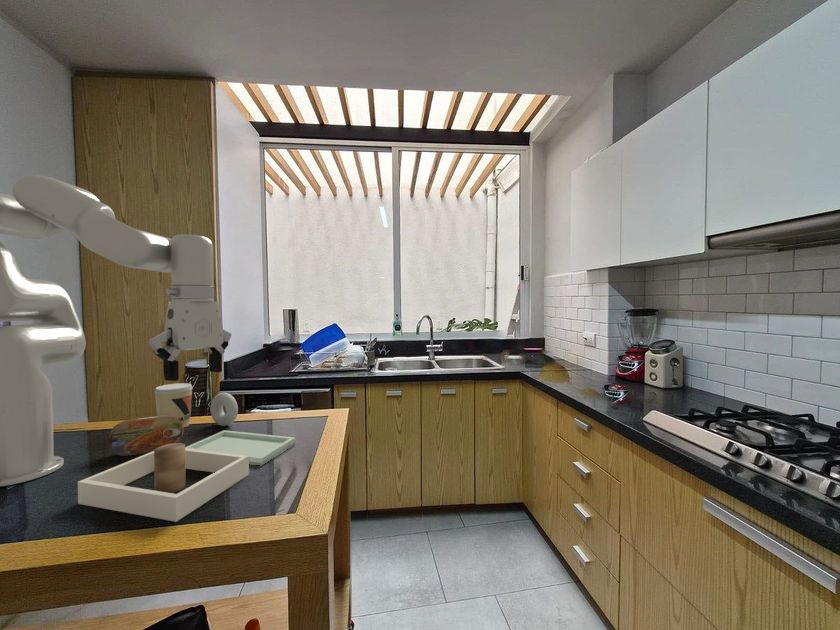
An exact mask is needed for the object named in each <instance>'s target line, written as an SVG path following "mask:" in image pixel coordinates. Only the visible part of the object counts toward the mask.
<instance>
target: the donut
mask: <svg viewBox="0 0 840 630" xmlns="http://www.w3.org/2000/svg"><path fill="white" fill-rule="evenodd" d="M209 407H210V415H211V418H212V420H213V421H214V422H215V424H217V425H218V426H221V427H228V426H230V425H232V424H233V423H234V422H235V421H236V419H237V416H238V415H239V414H238V413H239V407H238V403H237V400H236V399H235V397H234V396H233V395H232V394H230V393H228V392H220V393H218V394H216V395H215V396H214V397H213V398H212V400H211V403H210V406H209Z"/></svg>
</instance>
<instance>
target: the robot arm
mask: <svg viewBox="0 0 840 630" xmlns="http://www.w3.org/2000/svg"><path fill="white" fill-rule="evenodd" d="M11 190H12V195H10V194H6V193H3V192H0V234H3V235H8V236H12V237H19V238H23V239H24V238H25V239H29V240H43V239H46V240H47V239H50V238H54V237H55V238H56V237H57V236H61V235H66V234H68V233H70V234H72V235H74V236H75V237H76V238H77V239H78V241H79V242H80V243H81V244H82V245H83V247H85V248H86V249H87V250H90V251H91V252H93V253H95V254H97V255H99V256H101V257H103V258H105V259H107V260H109V261H111V262H114V263H115V264H118V265H120V266H124V267H127V268H129V269H130V268H131V269H139V270H145V271H151V272H158V273H171V275H170V276H171V277H170V279H171V281H170V282H171V283H170V284H171V285H170V288H169V287H167V288H166V289H165V293H166V295H167V296H170V299H171V301H168V304H167V308H166V314H165V320H164V321H165V322H164V331H162V332H160V333H159V334H157V335H155V336H153V337H152V338H149V340H148V341H147V343H148V344H149V347H150V348H151V350H152V352H153V353H154V355H156V356H157V357H158V358H159V359H160V360H161V361H163V362H162V363H163V377H164V380H165V381H170V382H171V381H172V382H176V381H179V379H180V375H179V373H180V372H179V371H180V370H179V361H178V359H177V357H178V356H179V355H180V353H181V352H182V351H192V350H193V351H194V350H204V349H208V350H209V352H211V353H209V355H208V370H209V372H210V373H222V371H223V356H222V355H224V353H225V350H226V349H227V348H228V347H229V343H230V340H231V338H232V333H231V332H229V331H227V330H225V329H224V328H223V322H222V314H221V310H220V306H219V302H218V301H215V299H214V298H215V287H214V285H215V284H214V282H215V281H214V274H215V273H214V244H213V241H212V240H211V239H210V238H208V237H206V236H202V235H196V234H186V233H185V234H184V233H183V234H182V233H181V234H176V235H173V237H171V238H170V237H166V236H162V235H159V234H156V233H152V232H150V231H149V232H148V231H144V230H140V229H137V228H135V227H133V226H130V225H127V224H126V223H123V222H122V221H120V220H118V219H116V216H115V213H114V210H113V209H112V208H111V207H110V206H109V205H107V204H105V203H104V202H101V200H100V199H99V198H98V197H97V196H96V195H95V194H93V193H92V192H90V191H89V190H87V189H86V188H83V187H79V186H77V185H74V184H71V183H67V182H65V181H63V180H59V179H57V178H55V177H54V178H53V177H50V176H46V175H42V174H29V175H23V176H22V177H20V178H18V179H16V180H15V182H14V183H13V185H12V187H11ZM74 306H75V305H74V303H73V301H72V299H71V296H70V294H69V293H68V292H67V290H65V288H64V287H62V286H61V285H60V284H58V283H56V282H54V281H50V280H45V279H37V278H27V277H25V276H24V275H23V274H22V272H21V270H20V268H19V267H18V262H17V261H16V257H14V255H13V253H12V252H11V251H10V250H9V248H8V247H7V246H5V244H3V243H2V242H1V241H0V322H28V321H31V324H15V325H14V324H12V325H5V326H0V488H1V487H6V486H12V485H13V486H14V485H17V484H21V483H22V484H23V483H24V482H25V483H26V482H29V481H33V480H36V479H39V478H42V477H44V476H47V475H49V474H51V473H53V472H56V471H58V470H59V469H60V468H62V467H63V466H64V463H65V460H64V458H63V457H61V456H60V455H59V456H58V455H54V451H55V450H54V410H53V409H54V407H53V406H54V405H53V401H54V399H53V397H54V396H53V388H52V383H51V381H50V379H49V378H48V377H47V375H46V374H45V373H44V372H43V370H42V369H41V368H43V367H48V366H49V367H51V366H55V365H62V364H68V363H70V362H71V363H72V362H74V361H76V360H77V359H79V358H80V357H81V356H82V355H83V354H84V352H85V349H86V345H87V344H86V335H85V332H84V329H83V326H82V324H81V321H80V319H79V315H78V314H77V312H76V309H75V307H74ZM163 342H164V346H165V348H164V347H163V345H162V344H163Z"/></svg>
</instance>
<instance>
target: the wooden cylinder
mask: <svg viewBox="0 0 840 630" xmlns="http://www.w3.org/2000/svg"><path fill="white" fill-rule="evenodd" d="M185 447H186V444H185V443H182V442H178V443H172V444H167V445H163V446H160V447H158V448H156V449H155V450H154V471H153V473H154V477H153V479H154V482H153V483H154V491H160V492H167V493H173V494H175V493H178V492H180V491H182V489H183V490H184V489H185V487H186V482H187V481H186V480H187V479H186V478H187V477H186V475H187V474H186V472H187V471H186V467H185Z"/></svg>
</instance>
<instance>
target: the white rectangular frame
mask: <svg viewBox="0 0 840 630" xmlns="http://www.w3.org/2000/svg"><path fill="white" fill-rule="evenodd" d="M185 467H186V469H187V470H194V471H203V472H207V473H208V472H210V473H211V474H209V475H208V476H206V477H204V478H203V479H201V480H199V481H197V482H194V484H192V485H190V486H189V487H187V488H184V489H183V490H180V491H178V492H177V493H167V492H160V491H155V489H154V490H153V489H148V488H147V489H146V488H141V487H135V486H128V485H127V484H129V483H131V482H134V481H136V480H139V479H141V478H143V477H144V476H146V475H149V474H151V473H154V451H152V452H150V453H144V454H143V455H140V456H138V457H135V458H134V459H133V458H132V459H131V460H128V461H125V462H124V463H121V464H118V465H116V466H114V467H110V468H108V469H106V470H104V471H101V472H99V473H96V474H94V475H91V476H89V477H87V478H83V479H81V480H79V481H77V504H78V505H83V506H89V507H94V508H99V509H105V510H111V511H117V512H121V513H127V514H131V515H137V516H142V517H143V516H144V517H148V518H149V517H150V518H154V519H158V520H165V521H169V522H170V521H171V522H175V523H176V522H178V521H180V520H181V519H183V518H184V517H186V516H187V515H189V514H191V513H193V512H194V511H195V510H197V509H198V508H200V507H201V506H203V505H204V504H206V503H208V502H209V501H210V500H213V498H215V497H217V496H218V495H220V494H221V493H223V492H224V491H226V490H228V489H229V488H231V487H232V486H234V485H236V484H237V483H238V482H240V481H241V480H243V479H245V478H247V476H249V474H250V465H249V456H245V455H237V454H228V453H220V452H212V451H204V450H195V449H187V448H185ZM214 472H215V473H214Z"/></svg>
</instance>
